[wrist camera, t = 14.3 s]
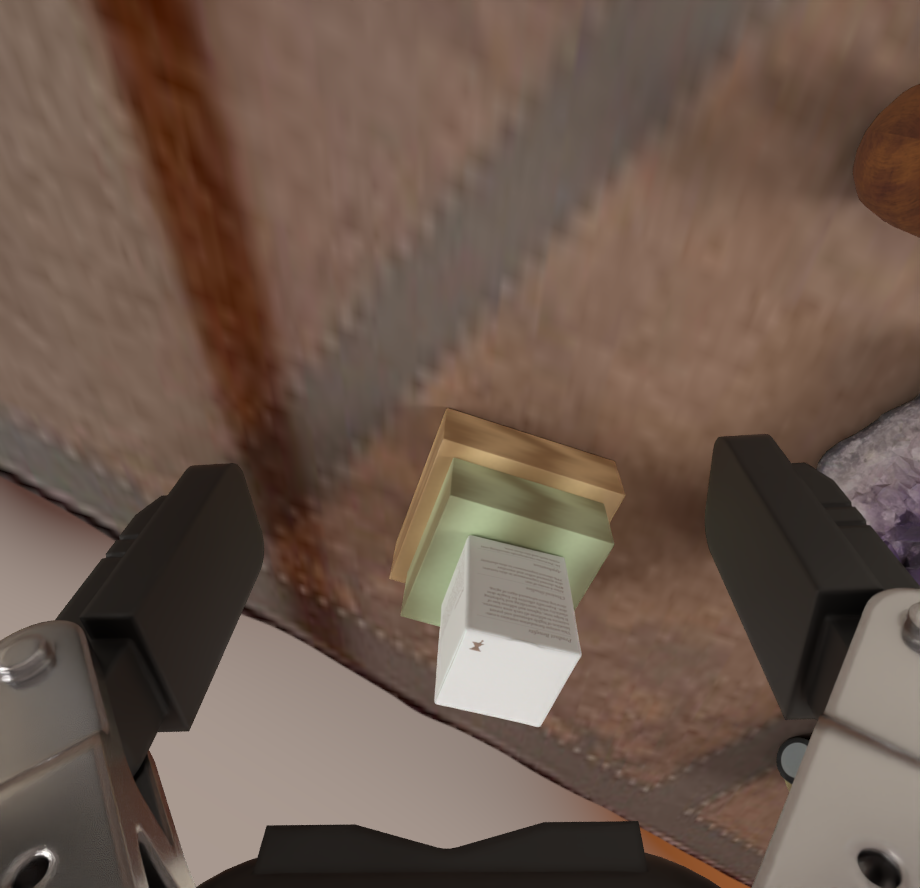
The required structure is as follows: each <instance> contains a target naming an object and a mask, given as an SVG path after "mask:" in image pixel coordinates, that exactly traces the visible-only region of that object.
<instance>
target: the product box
mask: <svg viewBox="0 0 920 888" xmlns="http://www.w3.org/2000/svg"><path fill="white" fill-rule="evenodd" d="M581 655H582V654H581V649H580V643H579V637H578V631H577V626H576V620H575V613H574V607H573V601H572V595H571V590H570V584H569V579H568V573H567V568H566V563H565V558H564V557H560V556H555V555H551V554H547V553H543V552H539V551H534V550H530V549H526V548H522V547H518V546H514V545H510V544H505V543H501V542H497V541H493V540H489V539H485V538H481V537H477V536H473V535H470V536H468V538H467V540H466V543H465V545H464V548H463V551H462V553H461V556H460V558H459V561H458V563H457V566H456V568H455V571H454V574H453V576H452V579H451V581H450V584H449V587H448V589H447V592H446V595H445V597H444V600H443V603H442V606H441V622H440V633H439V646H438V658H437V673H436V687H435V703H436V704H438V705H442V706H448V707H452V708H457V709H461V710H466V711H471V712H475V713H479V714H484V715H488V716H493V717H497V718H502V719H506V720H511V721H515V722H519V723H523V724H528V725H532V726H535V727H540V726H541V724H542V723H543V721H544V719H545V718H546V716H547V714H548V712H549V711H550V709H551V707H552V705H553V704H554V702H555V700H556V698H557V696H558V695H559V693H560V691H561V689H562V688H563V686H564V684H565V682H566V681H567V679H568V677H569V676H570V674H571V672H572V671H573V669H574V667H575V665H576V664H577V662H578V660H579V659H580V657H581Z"/></svg>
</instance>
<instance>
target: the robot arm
mask: <svg viewBox="0 0 920 888" xmlns="http://www.w3.org/2000/svg"><path fill="white" fill-rule="evenodd" d="M851 503H852V502H851V501H850V500H849V498H848V497H847V496H846V495H845V493H844V492H843V491H842V490H841V489H840V487H839V486H838V485H837V484H836V482H835V481H834V480H832V479H831V478H829V477H828V476H826V475H824V474H823V473H821V472H819V471H818V470H816V469H815V468H813V467H811V466H810V465H808V464H807V463H791V462H790V461H789V460H788V458H787V457H786V456H785V454H784V453H783V452H782V450H781V449H780V448H779V446H778V445H777V444H776V442H775V441H774V440H773V438H772V437H771V436H770V435H768V434H758V435H741V436H723V437H719V438H717V440H716V442H715V444H714V449H713V455H712V463H711V471H710V479H709V486H708V494H707V502H706V510H705V532H706V538H707V543H708V547H709V550H710V552H711V555H712V557H713V559H714V561H715V564H716V566H717V568H718V570H719V573H720V575H721V577H722V579H723V582H724V584H725V586H726V588H727V590H728V593H729V595H730V597H731V599H732V602H733V604H734V606H735V608H736V611H737V613H738V615H739V617H740V620H741V622H742V624H743V626H744V629H745V631H746V633H747V635H748V637H749V640H750V642H751V644H752V646H753V649H754V651H755V653H756V655H757V658H758V660H759V662H760V664H761V667H762V669H763V671H764V673H765V676H766V678H767V680H768V682H769V685H770V687H771V689H772V691H773V693H774V696H775V698H776V700H777V702H778V705H779V707H780V709H781V711H782V714H783V716H784V718H785V720H795V719H816V720H817V723H816V726H815V728H814V731H813V733H812V736H811V738H810V741H809V743H808V746H807V748H806V751H805V753H804V756H803V759H802V761H801V764H800V766H799V769H798V771H797V774H796V776H795V779H794V781H793V784H792V786H791V789H790V792H789V794H788V797H787V799H786V802H785V804H784V807H783V809H782V812H781V814H780V817H779V820H778V822H777V825H776V827H775V830H774V832H773V835H772V837H771V840H770V842H769V845H768V848H767V850H766V853H765V855H764V858H763V860H762V863H761V865H760V868H759V870H758V873H757V875H756V878H755V881H754V883H753V886H752V888H920V586H919V584H918V583H917V582H916V581H915V580H914V578H913V577H912V576H911V575H910V573H909V572H908V571H907V570H906V568H905V567H904V566H903V565H902V564H901V562H900V561H899V560H898V559H897V557H896V556H895V555H894V554H893V552H892V551H891V550H890V549H889V548H888V546H887V545H886V544H885V543H884V541H883V540H882V539H881V538H880V537H879V535H878V534H877V533H876V532H875V530H874V529H873V528H872V527H871V525H867V524H866V519H865V518H864V517H863V516H862V514H861V513H860V512H859V511H858V509H857V508H856V507H852V505H851ZM119 537H120V540H116V541H115V543H114V544H113V545H112V547H111V548H110V549H109V551H108V552H107V553H106V558H104V559H101V561H100V562H99V563H98V565H97V566H96V567H95V569H94V570H93V571H92V573H91V574H90V575H89V576H88V578H87V579H86V580H85V582H84V583H83V584H82V586H81V587H80V588H79V589H78V591H77V592H76V593H75V595H74V596H73V597H72V599H71V600H70V601H69V602H68V604H67V605H66V606H65V608H64V609H63V610H62V612H61V613H60V614H59V615H58V617H57V618H56V620H54V621H47V622H41V623H38V624H35V625H31V626H29V627H26V628H23V629H21V630H19V631H17V632H15V633H13V634H11V635H9V636H7V637H6V638H4V639H2V640H1V641H0V888H720V887H719V886H717V885H716V884H714V883H713V882H712V881H710V880H708V879H707V878H705V877H703V876H701V875H699V874H697V873H695V872H693V871H692V870H690V869H688V868H686V867H684V866H681V865H679V864H677V863H674V862H672V861H669V860H667V859H664V858H662V857H658V856H655V855H651V854H648V853H644V849H643V843H642V838H641V833H640V827H639V822H638V821H623V822H543V823H540V824H537V825H533V826H530V827H526V828H523V829H519V830H516V831H512V832H509V833H505V834H502V835H499V836H495V837H492V838H488V839H485V840H481V841H477V842H474V843H471V844H467V845H464V846H460V847H456V848H452V849H442V848H437V847H433V846H429V845H426V844H423V843H419V842H415V841H412V840H408V839H405V838H401V837H398V836H394V835H390V834H387V833H383V832H380V831H376V830H372V829H369V828H365V827H361V826H358V825H276V826H275V825H274V826H267V827H266V830H265V834H264V837H263V841H262V844H261V847H260V851H259V855H258V858H255V859H252V860H249V861H246V862H244V863H242V864H239V865H237V866H234V867H232V868H230V869H227V870H225V871H223V872H221V873H220V874H218V875H216V876H214V877H212V878H210V879H209V880H207V881H205V882H203V883H202V884H200V885H199V886H198V887H196V886H195V883H194V881H193V879H192V876H191V874H190V872H189V869H188V866H187V863H186V861H185V858H184V855H183V851H182V848H181V845H180V842H179V838H178V835H177V832H176V829H175V825H174V822H173V819H172V816H171V813H170V810H169V806H168V804H167V800H166V796H165V793H164V790H163V787H162V784H161V781H160V777H159V775H158V771H157V767H156V765H155V761H154V759H153V757H152V755H151V753H150V751H149V748H150V746H151V744H152V742H153V740H154V738H155V736H156V734H157V732H175V731H176V732H177V731H178V732H179V731H189V730H190V728H191V725H192V723H193V721H194V719H195V717H196V714H197V712H198V710H199V708H200V705H201V703H202V701H203V699H204V696H205V694H206V692H207V690H208V687H209V685H210V682H211V681H212V678H213V676H214V674H215V671H216V669H217V667H218V665H219V662H220V660H221V658H222V656H223V653H224V651H225V649H226V646H227V644H228V642H229V640H230V637H231V635H232V633H233V631H234V629H235V626H236V624H237V621H238V620H239V617H240V615H241V613H242V611H243V608H244V606H245V604H246V602H247V599H248V597H249V595H250V593H251V590H252V588H253V586H254V584H255V581H256V579H257V577H258V575H259V572H260V570H261V567H262V563H263V557H264V541H263V535H262V531H261V528H260V525H259V522H258V519H257V515H256V512H255V509H254V506H253V503H252V499H251V496H250V493H249V490H248V487H247V484H246V480H245V477H244V474H243V472H242V470H241V468H240V467H239V466H238V465H237V464H234V463H230V464H213V465H195V466H190V467H189V468H188V469H187V470H186V471H185V472H184V474H183V475H182V476H181V478H180V479H179V480H178V482H177V483H176V485H175V486H174V487H173V489H172V490H171V491H170V493H169V494H168V495H167V496H161V497H159V498H158V499H157V500H155V501H154V502H152V503H151V504H150V505H148V506H147V507H146V508H144V509H143V510H142V511H140V512H139V513H138V514H136V515H135V517H134V518H133V519H132V520H131V522H130V523H129V524H128V526H127V527H126V528H125V530H124V531H123V532H122V533H121V535H120V536H119Z"/></svg>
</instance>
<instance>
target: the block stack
mask: <svg viewBox="0 0 920 888" xmlns="http://www.w3.org/2000/svg"><path fill="white" fill-rule="evenodd" d="M624 497H625V492H624V489H623V486H622V483H621V479H620V476H619V473H618V470H617V467H616V463H615V461H612V460H609V459H606V458H603V457H600V456H596V455H593V454H590V453H587V452H584V451H581V450H578V449H574V448H571V447H568V446H565V445H562V444H559V443H556V442H553V441H549V440H546V439H543V438H540V437H537V436H534V435H531V434H527V433H524V432H521V431H518V430H515V429H512V428H509V427H506V426H502V425H499V424H496V423H493V422H490V421H487V420H484V419H480V418H477V417H474V416H471V415H468V414H465V413H462V412H459V411H455V410H452V409H449V408H447V409H446V411H445V414H444V416H443V419H442V422H441V424H440V427H439V430H438V432H437V435H436V438H435V440H434V443H433V446H432V448H431V451H430V454H429V456H428V459H427V462H426V464H425V467H424V470H423V472H422V475H421V478H420V480H419V483H418V486H417V488H416V491H415V494H414V496H413V499H412V502H411V504H410V507H409V510H408V512H407V515H406V518H405V520H404V523H403V526H402V528H401V531H400V534H399V536H398V539H397V542H396V547H395V552H394V557H393V562H392V568H391V573H390V579H392V580H395V581H399V582H403V583H406V584H405V591H404V597H403V603H402V610H401V616H403V617H406V618H410V619H414V620H417V621H421V622H425V623H429V624H432V625H436V626H440V622H441V606H442V603H443V600H444V597H445V595H446V592H447V589H448V587H449V584H450V581H451V579H452V576H453V574H454V571H455V568H456V566H457V563H458V561H459V558H460V556H461V553H462V551H463V548H464V545H465V543H466V540H467V538H468V536H470V535H473V536H477V537H481V538H485V539H489V540H493V541H497V542H501V543H505V544H510V545H514V546H518V547H522V548H526V549H530V550H534V551H539V552H543V553H547V554H551V555H555V556H560V557H564V558H565V563H566V568H567V573H568V579H569V584H570V590H571V595H572V601H573V607H574V610H575V609H576V607H577V605H578V604H579V602H580V600H581V599H582V597H583V596H584V594H585V592H586V591H587V589H588V587H589V586H590V584H591V582H592V581H593V579H594V577H595V576H596V574H597V572H598V571H599V569H600V568H601V566H602V564H603V563H604V561H605V559H606V558H607V556H608V554H609V553H610V551H611V549H612V548H613V546H614V541H613V537H612V533H611V529H610V525H609V523H610V521H611V519H612V518H613V516H614V514H615V513H616V511H617V509H618V507H619V506H620V504H621V502H622V501H623V499H624Z"/></svg>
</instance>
